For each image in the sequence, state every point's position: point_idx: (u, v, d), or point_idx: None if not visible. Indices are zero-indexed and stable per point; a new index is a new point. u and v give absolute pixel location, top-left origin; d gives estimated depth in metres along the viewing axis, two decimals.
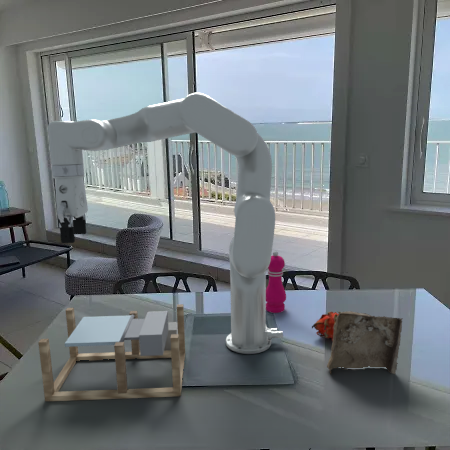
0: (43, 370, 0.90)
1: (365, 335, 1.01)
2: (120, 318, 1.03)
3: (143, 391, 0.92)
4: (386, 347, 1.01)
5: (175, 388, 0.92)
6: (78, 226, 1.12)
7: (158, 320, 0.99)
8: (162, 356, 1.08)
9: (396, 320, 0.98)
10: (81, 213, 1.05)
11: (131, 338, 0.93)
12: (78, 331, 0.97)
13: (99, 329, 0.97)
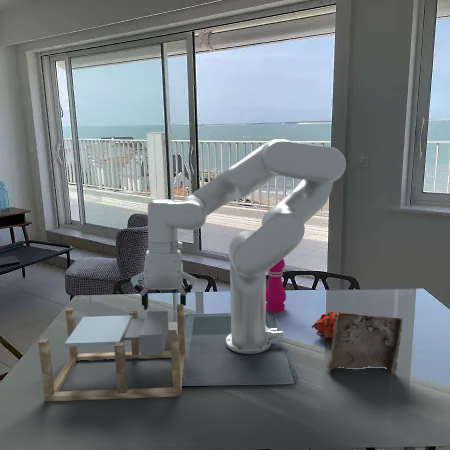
0: (43, 370, 0.90)
1: (365, 335, 1.01)
2: (120, 318, 1.03)
3: (143, 391, 0.92)
4: (386, 347, 1.01)
5: (175, 388, 0.92)
6: (147, 300, 1.12)
7: (158, 320, 0.99)
8: (162, 356, 1.08)
9: (396, 320, 0.98)
10: None
11: (131, 338, 0.93)
12: (78, 331, 0.97)
13: (99, 329, 0.97)
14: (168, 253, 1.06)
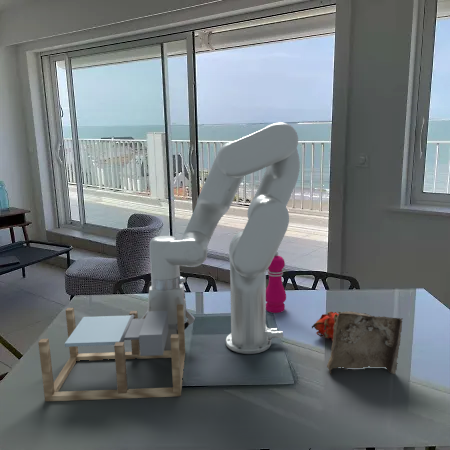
0: (43, 370, 0.90)
1: (365, 335, 1.01)
2: (120, 318, 1.03)
3: (143, 391, 0.92)
4: (386, 347, 1.01)
5: (175, 388, 0.92)
6: None
7: (158, 320, 0.99)
8: (162, 356, 1.08)
9: (396, 320, 0.98)
10: None
11: (131, 338, 0.93)
12: (78, 331, 0.97)
13: (99, 329, 0.97)
14: (171, 289, 1.08)
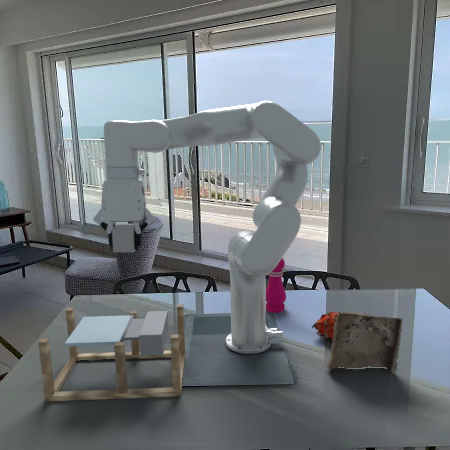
0: (43, 370, 0.90)
1: (365, 335, 1.01)
2: (120, 318, 1.03)
3: (143, 391, 0.92)
4: (386, 347, 1.01)
5: (175, 388, 0.92)
6: None
7: (158, 320, 0.99)
8: (162, 356, 1.08)
9: (396, 320, 0.98)
10: None
11: (131, 338, 0.93)
12: (78, 331, 0.97)
13: (99, 329, 0.97)
14: (126, 179, 0.95)
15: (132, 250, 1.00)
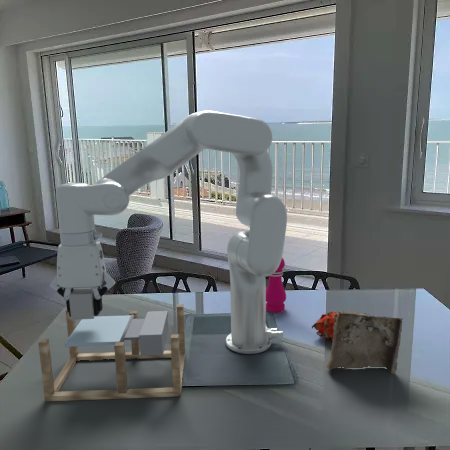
0: (43, 370, 0.90)
1: (365, 335, 1.01)
2: (120, 318, 1.03)
3: (143, 391, 0.92)
4: (386, 347, 1.01)
5: (175, 388, 0.92)
6: None
7: (158, 320, 0.99)
8: (162, 356, 1.08)
9: (396, 320, 0.98)
10: None
11: (131, 338, 0.93)
12: (78, 331, 0.97)
13: (99, 329, 0.97)
14: (81, 245, 0.91)
15: (91, 317, 0.95)
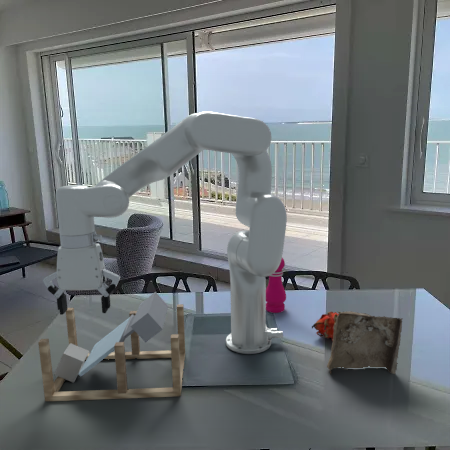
0: (43, 370, 0.90)
1: (365, 335, 1.01)
2: (121, 325, 1.04)
3: (143, 391, 0.92)
4: (386, 347, 1.01)
5: (175, 388, 0.92)
6: (64, 303, 0.96)
7: (147, 304, 0.98)
8: (162, 356, 1.08)
9: (396, 320, 0.98)
10: None
11: (128, 333, 0.93)
12: (89, 357, 0.98)
13: (105, 344, 0.98)
14: (81, 248, 0.91)
15: (64, 355, 0.97)
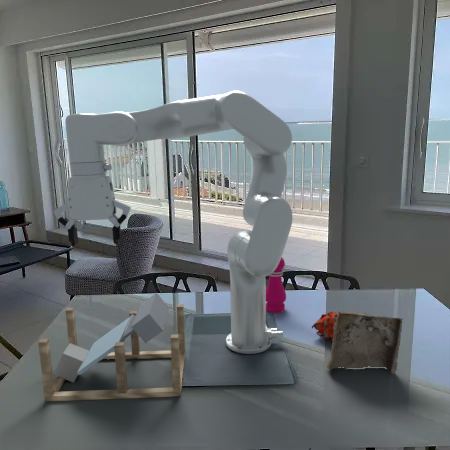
0: (43, 370, 0.90)
1: (365, 335, 1.01)
2: (121, 324, 1.04)
3: (143, 391, 0.92)
4: (386, 347, 1.01)
5: (175, 388, 0.92)
6: (75, 235, 0.97)
7: (148, 304, 0.98)
8: (162, 356, 1.08)
9: (396, 320, 0.98)
10: None
11: (129, 333, 0.93)
12: (88, 356, 0.98)
13: (104, 343, 0.98)
14: (92, 175, 0.91)
15: (63, 355, 0.97)
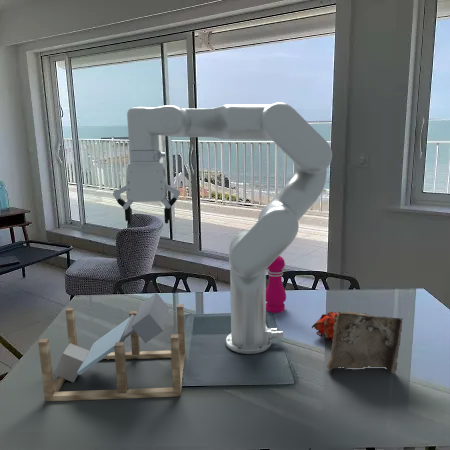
0: (43, 370, 0.90)
1: (365, 335, 1.01)
2: (121, 324, 1.04)
3: (143, 391, 0.92)
4: (386, 347, 1.01)
5: (175, 388, 0.92)
6: (131, 215, 1.09)
7: (148, 304, 0.98)
8: (162, 356, 1.08)
9: (396, 320, 0.98)
10: None
11: (129, 333, 0.93)
12: (88, 356, 0.98)
13: (104, 343, 0.98)
14: (149, 161, 1.03)
15: (63, 355, 0.97)
